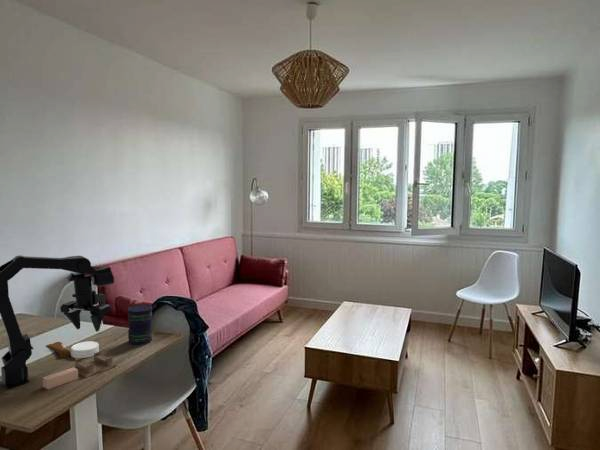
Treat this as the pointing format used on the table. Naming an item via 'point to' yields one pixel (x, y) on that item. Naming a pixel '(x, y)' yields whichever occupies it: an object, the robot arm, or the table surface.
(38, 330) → the table surface
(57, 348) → the primitive tool
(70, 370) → the pinkish tan rectangular block
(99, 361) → the tan two-rail tray
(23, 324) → the table surface
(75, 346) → the coaster
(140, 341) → the storage jar
